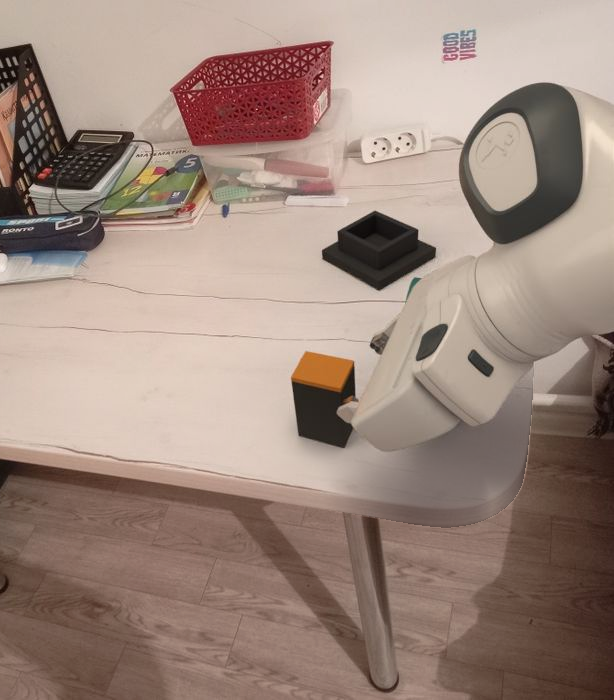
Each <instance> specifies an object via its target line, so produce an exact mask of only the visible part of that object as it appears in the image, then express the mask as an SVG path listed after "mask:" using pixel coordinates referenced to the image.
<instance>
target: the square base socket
mask: <svg viewBox="0 0 614 700" xmlns="http://www.w3.org/2000/svg"><path fill="white" fill-rule="evenodd" d="M419 231H420V230H419V228H416V227H415V226H412V225H410V224H407V223H405V222H403V221H400V220H398V219H396V218H394V217H391V216H389V215H387V214H384V213H382V212H379V211H378V210H373V211H372V212H369V213H368V214H366V215H364V216H362V217H360V218H359V219H357V220H355V221H354V222H352V223H349V224H348V225H345V226H344V227H342V228H340V229H339V230H337V241H335V242H334V243H331V244H330V245H328V246H326V247H325V248H323V249H322V250H321V258H322V260H324V261H326V262H327V263H329V264H331V265H333V266H335V267H337V268H338V269H339V270H342V271H344V272H346V273H347V274H349V275H351V276H352V277H354V278H356V279H358V280H359V281H361V282H363V283H364V284H367V285H368V286H370V287H372V288H373V289H375V290H378V291H381V290H382V289H383V288H386V287H387V286H389V285H391V284H392V283H394V282H395V281H398V280H399V279H401V278H403V277H404V276H406V275H407V274H409V273H411V272H412V271H414V270H416V269H418V268H419V267H421V266H423V265H425V264H426V263H428V262H429V261H431V260H432V259H434V258H436V256H437V247H435V246H433V245H431V244H429V243H427V242H424V241H422V240H420V239H419Z"/></svg>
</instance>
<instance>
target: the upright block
mask: <svg viewBox="0 0 614 700" xmlns="http://www.w3.org/2000/svg"><path fill="white" fill-rule="evenodd" d="M355 369H356V368H355V360H353V359H348V358H343V357H339V356H334V355H333V356H332V355H328V354H323V353H318V352H313V351H308V350H305V351H304V353H303V355H302V356H301V358H300V360H299V362H298V364H297V365H296V368H295V369H294V370H293V373H292V375H291V376H290V381H291V388H292V397H293V403H294V411H295V420H296V426H297V434H298V437H303V438H306V439H309V440H312V441H313V440H314V441H317V442H320V443H323V444H328V445H331V446H334V447H338V448H342V449H345V448H346V445H347V444H348V441H349V438H350V437H351V434H352V432H353V429H354V428H353V426H352V424H351V423H347V422H345V421H344V420H343V419H342V418H341V417H340V416H339V415H337V410H338V408H339V406H340V404H341V402H342V401H343V400H344V399H347V398H348V397H350V396H352V395H353V396H354V397H356V396H357V395H356V394H357V393H356V371H355ZM356 398H357V397H356Z"/></svg>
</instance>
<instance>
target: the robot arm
mask: <svg viewBox="0 0 614 700" xmlns="http://www.w3.org/2000/svg"><path fill="white" fill-rule="evenodd" d="M462 145H463V146H462V148H461V152H460V155H459V161H458V180H459V185H460V188H461V191H462V193H463V196H464V198H465V200H466V203H467V204H468V206H469V208H470V210H471V212H472V214H473V216H474V218H475V219H476V222H477V223H478V224H479V226H480V227H481V229H482V231H483V232H484V234H485V235H486V237H488V238H489V239H490V240H491V241H492V243H493V244H492V246H491V247H490V249H488V250H487V251H485V252H483V253H481V254H480V255H478V256H475V255H471V254H469V255H464V256H461V257H459V258H457V259H455V260H452V261H450V262H449V263H446V264H445V265H442V266H440V267H439V268H437V269H435V270H432V271H431V272H429V273H427V274H426V275H424V276H423V277H421V278H422V279H420V280H419V281H418V282H417V283H416V284H415V285H414V286H413V288H412V290H411V292H410V294H409V296H408V299H407V301H406V300H405V302H406V303H405V302H404V305H403V308H402V309H401V311H400V312H399V313H398V314H397V315H396V316H395V317H394V318H393V319H392V320H391V321H390V322H389V323H388V324H387V325H385V327H384V328H382V329H381V330H379V331H377V332H376V333H374V334H373V336H372V338H371V340H370V343H369V347H370V349H371V350H374V352H375V353H376V354H377V355H380V356H379V359H378V361H377V364H376V366H375V367H374V370H373V372H372V374H371V376H370V379H369V381H368V383H367V385H366V388H365V389H364V392H363V394H362V396H361V397H360V398H359V399H358V398H357V397H354V396H353V395H352V396H350V397H348V398H347V399H344V400H343V401H342V402H341V404H340V406H339V408H338V410H337V415H339V416H340V417H341V418H342V419H343V420H344V421H345V422H347V423H351V424H352V426H353V429H354V430H355V431H356V432H357V434H359V436H361V437H362V438H363V439H364V440H365V441H366V442H368V443H369V444H370V445H371V446H373V448H375V449H377V450H379V451H381V452H384V453H391V452H395V451H400V450H403V449H406V448H410V447H413V446H415V445H419V444H422V443H426V442H428V441H431V440H434V439H436V438H439V437H442V436H443V435H445V434H447V433H449V432H450V431H452V430H453V429H455V427H457V426H458V424H460V423H461V421H463V422H464V423H466V424H468V425H469V426H470V427H477V426H480V425H484V424H486V423H489V422H490V421H491V420H493V419H494V418H495V417H496V416H497V414H498V412H499V411H500V410H501V408H502V406H503V404H504V402H506V399H507V398H508V397H509V395H510V394H511V392H513V390H514V388H515V387H516V386H517V384H518V383H519V382H520V381H521V380H522V379H523V378H524V377H525V376H526V375H527V374H528V373H529V372H530V371H531V370H532V368H533V367H534V365H535V364H534V363H535V362H537V361H540V360H543V359H545V358H548V357H551V356H553V355H555V354H557V353H559V352H560V351H561V350H563V349H564V348H565V347H567V346H568V345H569V344H571V343H572V342H575V341H576V340H579V339H581V338H586V337H590V336H598V335H605V334H609V333H613V332H614V104H613V103H611V102H610V101H608V100H604V99H602V98H600V97H598V96H595V95H593V94H590V93H588V92H584V91H582V90H579V89H576V88H575V87H574V88H573V87H570V86H566V85H561V84H558V83H554V82H545V81H544V82H543V81H542V82H535V83H531V84H527V85H524V86H522V87H519V88H517V89H515V90H513V91H512V92H510V93H508V94H506V95H504V96H503V97H502V98H500V99H499V100H497V101H496V102H495V103H494V104H493V105H491V106H490V107H489V108H488V109H487V110H486V111H485V112H484V113H483V114H482V115H481V116H480V118H479V119H478V120H477V121H476V123H475V124H474V125H473V127H472V128H471V130H470V132H469V133H468V135H467V137H466V139H465V141H464V143H463V144H462Z"/></svg>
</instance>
